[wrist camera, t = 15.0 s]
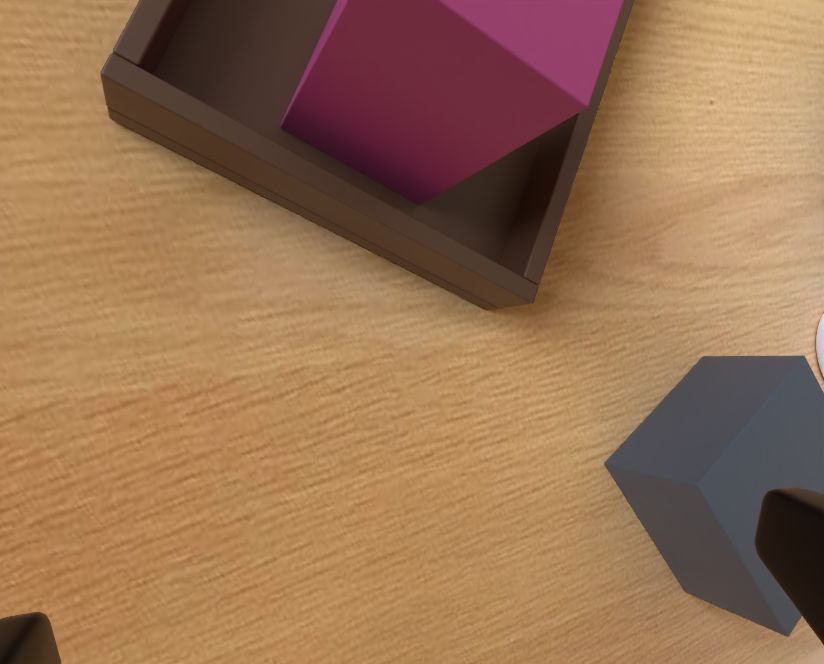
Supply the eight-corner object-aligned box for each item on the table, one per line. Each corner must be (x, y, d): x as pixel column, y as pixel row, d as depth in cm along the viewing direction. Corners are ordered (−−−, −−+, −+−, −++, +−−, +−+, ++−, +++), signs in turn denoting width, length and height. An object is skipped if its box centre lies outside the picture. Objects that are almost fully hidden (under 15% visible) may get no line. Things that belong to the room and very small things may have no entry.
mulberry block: (419, 205, 18) (589, 107, 11) (279, 127, 16) (372, -48, 9) (469, 79, 18) (653, -86, 12) (340, -7, 17) (467, -259, 10)
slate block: (684, 592, 22) (788, 638, 19) (603, 463, 21) (697, 485, 17) (771, 478, 25) (879, 499, 21) (703, 355, 23) (805, 355, 20)
